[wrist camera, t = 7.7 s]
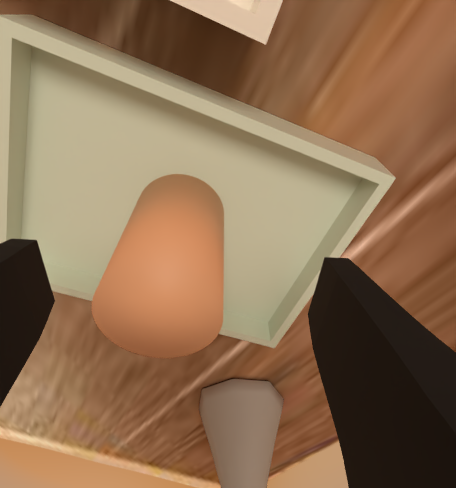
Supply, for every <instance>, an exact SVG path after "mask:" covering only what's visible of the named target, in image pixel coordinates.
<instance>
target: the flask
mask: <svg viewBox="0 0 456 488" xmlns="http://www.w3.org/2000/svg"><path fill="white" fill-rule="evenodd" d="M283 402H284V399H283V398H282V396H281V395H280V394H279V393H278V392H277V390H276V389H275V388H274V387H273V385H272V384H271V383H270V382H269V381H257V380H244V379H231V380H228V381H225V382H222V383H219V384H216V385H213V386H210V387H207V388H204V389H202V391H201V398H200V404H199V411H200V415H201V419H202V422H203V425H204V429H205V432H206V435H207V438H208V442H209V445H210V448H211V452H212V455H213V459H214V463H215V467H216V470H217V474H218V478H219V481H220V485H221V488H267V481H268V476H269V470H270V465H271V460H272V454H273V449H274V444H275V439H276V434H277V430H278V425H279V421H280V417H281V412H282V407H283Z"/></svg>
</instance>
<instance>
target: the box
mask: <svg viewBox="0 0 456 488" xmlns="http://www.w3.org/2000/svg"><path fill="white" fill-rule="evenodd" d="M170 1H172V2H175V3H177V4H179V5H181V6H183V7H185V8H188V9H190V10H192V11H194V12H196V13H198V14H200V15H203V16H205V17H207V18H209V19H211V20H213V21H216V22H218V23H220V24H222V25H224V26H226V27H229V28H231V29H233V30H235V31H237V32H239V33H241V34H244V35H246V36H248V37H250V38H252V39H254V40H257V41H259V42H261V43H263V44H265V45H266V42H267V40H268V37H269V35H270V32H271V30H272V27H273V25H274V22H275V19H276V17H277V14H278V12H279V9H280V7H281V4H282V2H283V0H170Z"/></svg>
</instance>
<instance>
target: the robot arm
mask: <svg viewBox="0 0 456 488" xmlns="http://www.w3.org/2000/svg"><path fill="white" fill-rule="evenodd" d="M54 302H55V300H54V296H53V293H52V289H51V286H50V283H49V279H48V276H47V272H46V269H45V266H44V262H43V259H42V255H41V252H40V249H39V245H38V242H37V240H29V239H9V240H7V241H5V242H2V243H0V406H1V405H2V403H3V401H4V399H5V398H6V396H7V394H8V393H9V391H10V389H11V387H12V386H13V384H14V382H15V380H16V379H17V377H18V375H19V374H20V372H21V370H22V368H23V367H24V365H25V363H26V361H27V360H28V358H29V356H30V354H31V353H32V351H33V349H34V347H35V345H36V344H37V342H38V340H39V338H40V336H41V334H42V332H43V329H44V327H45V325H46V322H47V320H48V317H49V315H50V312H51V309H52V307H53V304H54ZM308 318H309V325H310V333H311V339H312V345H313V350H314V354H315V358H316V361H317V365H318V368H319V372H320V376H321V379H322V383H323V386H324V389H325V393H326V396H327V400H328V403H329V407H330V410H331V414H332V417H333V421H334V424H335V428H336V431H337V435H338V438H339V443H340V447H341V451H342V455H343V459H344V465H345V470H346V475H347V480H348V486H349V488H456V353H455V352H454V351H453V350H452V349H450V348H449V347H448V346H447V345H446V344H444V343H443V342H442V341H441V340H439V339H438V338H437V337H436V336H435V335H433V334H432V333H431V332H430V331H429V330H427V329H426V328H425V327H424V326H423V325H422V324H420V323H419V322H418V321H417V320H416V319H415V318H413V317H412V316H411V315H410V314H409V313H408V312H407V311H406V310H404V309H403V308H402V307H401V306H400V305H399V304H398V303H397V302H396V301H394V300H393V299H392V298H391V297H390V296H389V295H388V294H387V293H386V292H385V291H384V290H383V289H381V288H380V287H379V286H378V285H377V284H376V283H375V282H374V281H373V280H372V279H371V278H370V277H368V276H367V275H366V274H365V273H364V272H363V271H362V270H361V269H360V268H359V267H358V266H356V265H355V264H354V263H353V262H352V261H351V260H349V259H348V258H332V257H324V261H323V264H322V267H321V271H320V274H319V278H318V281H317V285H316V288H315V291H314V295H313V298H312V302H311V305H310V308H309V312H308Z"/></svg>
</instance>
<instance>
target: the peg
mask: <svg viewBox="0 0 456 488" xmlns="http://www.w3.org/2000/svg"><path fill="white" fill-rule="evenodd" d="M223 291H224V208H223V204H222V202H221V199H220V197H219V196H218V194H217V193H216V192H215V190H214V189H213V188H212V187H211V186H209V185H208V184H207V183H205V182H204V181H202V180H200V179H198V178H196V177H193V176H189V175H184V174H171V175H166V176H162V177H160V178H157V179H156V180H154V181H152V182H151V183H150V184H148V185H147V186H146V187H145V189H144V190H143V191H142V193H141V195H140V197H139V199H138V201H137V203H136V206H135V208H134V210H133V212H132V214H131V216H130V218H129V221H128V223H127V225H126V227H125V229H124V231H123V233H122V236H121V238H120V240H119V242H118V244H117V246H116V248H115V251H114V253H113V255H112V257H111V259H110V261H109V263H108V266H107V268H106V270H105V272H104V274H103V276H102V278H101V281H100V283H99V285H98V287H97V289H96V291H95V293H94V296H93V299H92V314H93V318H94V320H95V323H96V325H97V326H98V328H99V329H100V331H101V332H102V333H103V334H104V335H105V336H106V337H107V338H108V339H109V340H110V341H112V342H113V343H115V344H116V345H118V346H120V347H121V348H123V349H125V350H128V351H130V352H133V353H135V354H139V355H143V356H147V357H154V358H176V357H182V356H186V355H190V354H193V353H195V352H198V351H200V350H202V349H203V348H205V347H206V346H208V345H209V344H210V343H211V342H212V341H213V340H214V339H215V338H216V337H217V335H218V334H219V332H220V330H221V328H222V324H223Z"/></svg>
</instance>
